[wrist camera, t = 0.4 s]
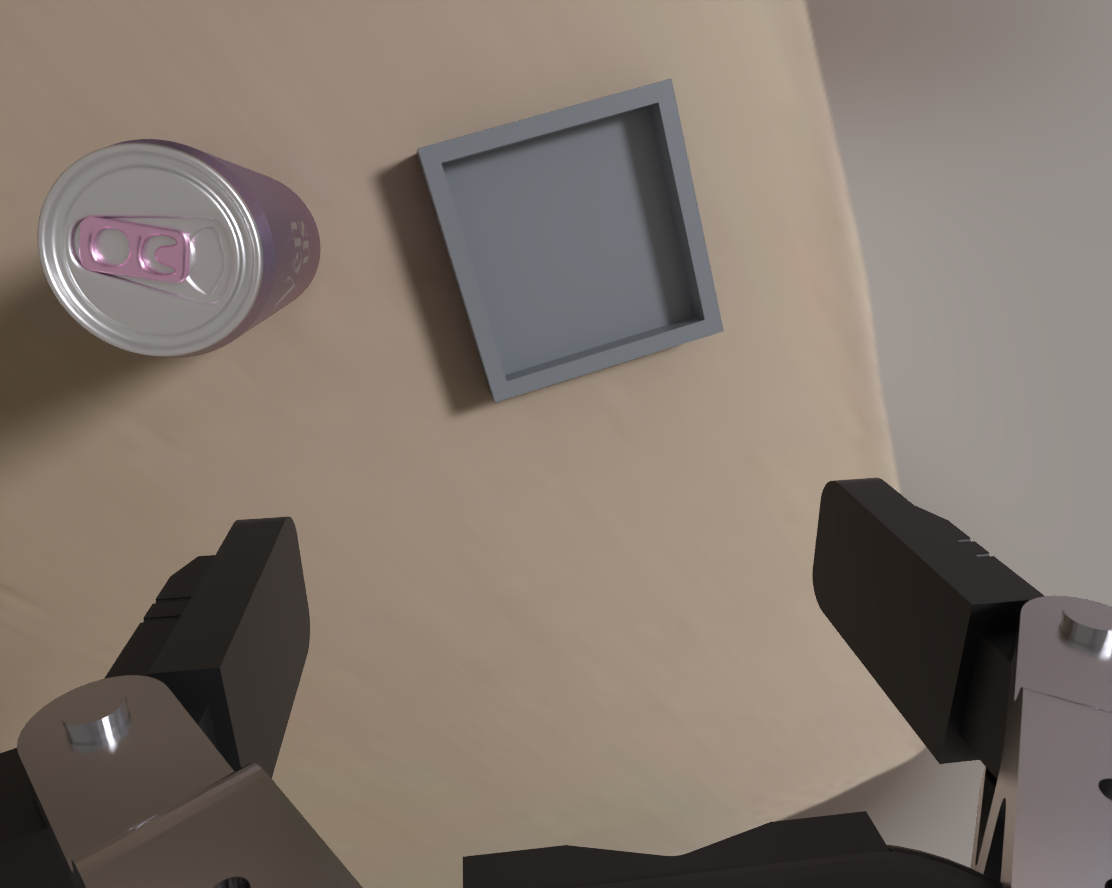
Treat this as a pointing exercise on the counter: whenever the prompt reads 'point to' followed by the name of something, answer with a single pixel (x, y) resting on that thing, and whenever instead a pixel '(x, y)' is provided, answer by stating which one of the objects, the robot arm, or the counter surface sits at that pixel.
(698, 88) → the counter surface
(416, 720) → the counter surface
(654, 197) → the tray
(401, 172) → the counter surface
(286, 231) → the beverage can
